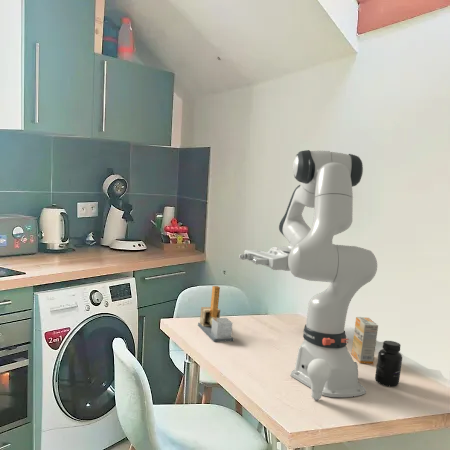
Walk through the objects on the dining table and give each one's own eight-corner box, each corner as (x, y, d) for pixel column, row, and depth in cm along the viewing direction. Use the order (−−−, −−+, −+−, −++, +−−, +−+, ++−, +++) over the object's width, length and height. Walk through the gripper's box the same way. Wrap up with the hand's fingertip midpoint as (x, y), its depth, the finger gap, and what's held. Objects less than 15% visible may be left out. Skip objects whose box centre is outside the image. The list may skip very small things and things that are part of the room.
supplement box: (350, 354, 176) (355, 316, 174) (364, 355, 176) (369, 317, 175) (359, 363, 168) (364, 323, 166) (373, 364, 168) (378, 324, 167)
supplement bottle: (400, 389, 150) (405, 348, 149) (375, 385, 151) (380, 344, 150) (397, 380, 157) (402, 341, 155) (373, 376, 158) (378, 337, 157)
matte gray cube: (231, 338, 177) (232, 322, 177) (216, 338, 176) (218, 323, 175) (225, 332, 183) (226, 317, 182) (211, 333, 181) (212, 318, 180)
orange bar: (223, 331, 182) (227, 291, 180) (214, 331, 181) (217, 291, 179) (214, 322, 191) (217, 284, 190) (205, 322, 190) (208, 284, 188)
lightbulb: (325, 406, 134) (330, 365, 132) (302, 401, 136) (306, 360, 134) (329, 397, 139) (333, 357, 138) (306, 392, 141) (310, 353, 140)
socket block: (218, 326, 190) (220, 310, 189) (203, 326, 188) (204, 310, 187) (215, 322, 194) (216, 306, 193) (199, 323, 191) (201, 307, 191)
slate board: (233, 341, 178) (233, 338, 178) (213, 341, 175) (214, 339, 175) (215, 325, 194) (216, 322, 194) (197, 325, 192) (198, 322, 192)
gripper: (262, 245, 207) (232, 246, 200) (295, 254, 189) (263, 255, 182) (261, 261, 207) (231, 262, 200) (293, 271, 190) (262, 273, 183)
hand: (247, 259), depth 191 cm, fingers open, 8 cm apart
